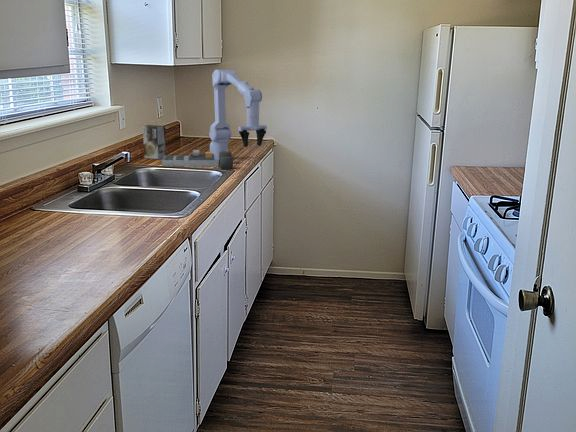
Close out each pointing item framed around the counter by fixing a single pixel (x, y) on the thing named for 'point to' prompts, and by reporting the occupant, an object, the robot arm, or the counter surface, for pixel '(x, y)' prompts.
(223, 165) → the pair of grey cylinders
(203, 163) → the power strip
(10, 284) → the counter surface
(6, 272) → the counter surface
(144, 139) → the coffee box
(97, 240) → the counter surface
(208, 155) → the toggle
